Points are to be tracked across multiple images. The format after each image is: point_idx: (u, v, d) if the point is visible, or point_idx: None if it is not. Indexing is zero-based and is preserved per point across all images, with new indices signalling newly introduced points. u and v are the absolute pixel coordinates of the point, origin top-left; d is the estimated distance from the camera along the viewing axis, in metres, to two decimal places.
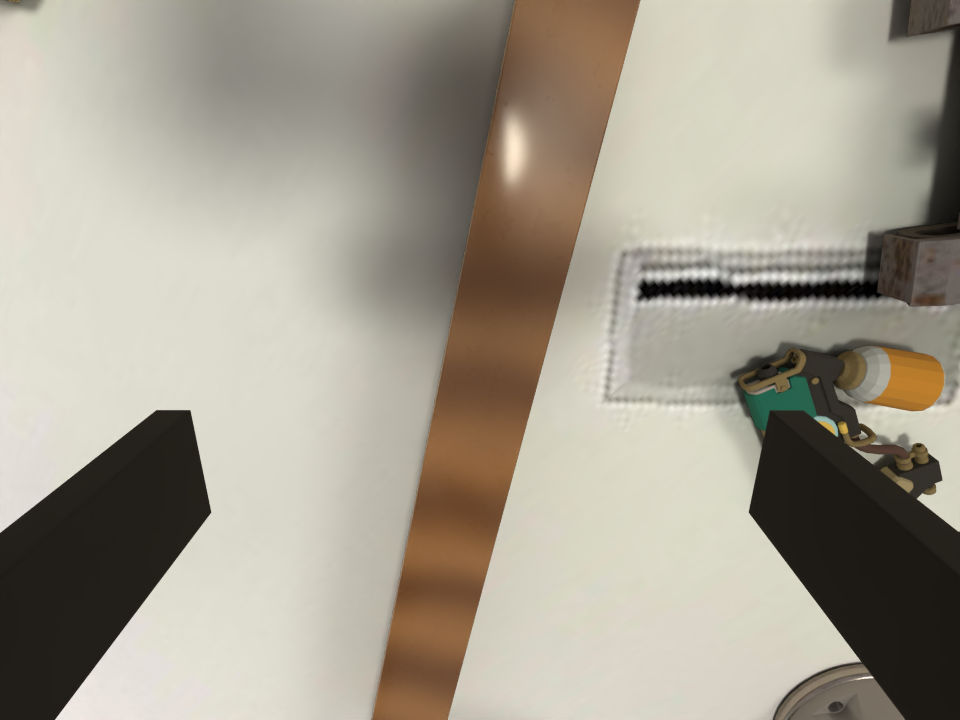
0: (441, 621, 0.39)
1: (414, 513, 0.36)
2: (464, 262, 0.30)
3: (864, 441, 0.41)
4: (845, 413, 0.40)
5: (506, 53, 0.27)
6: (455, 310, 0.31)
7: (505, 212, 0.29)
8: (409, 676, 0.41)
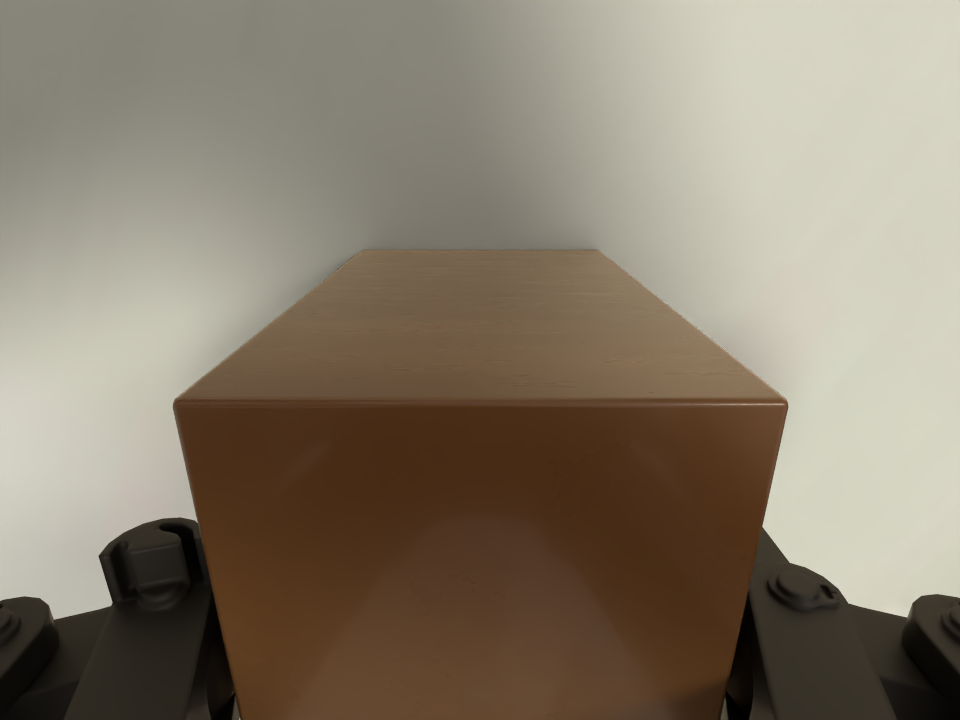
0: None
1: None
2: None
3: None
4: None
5: None
6: None
7: None
8: None
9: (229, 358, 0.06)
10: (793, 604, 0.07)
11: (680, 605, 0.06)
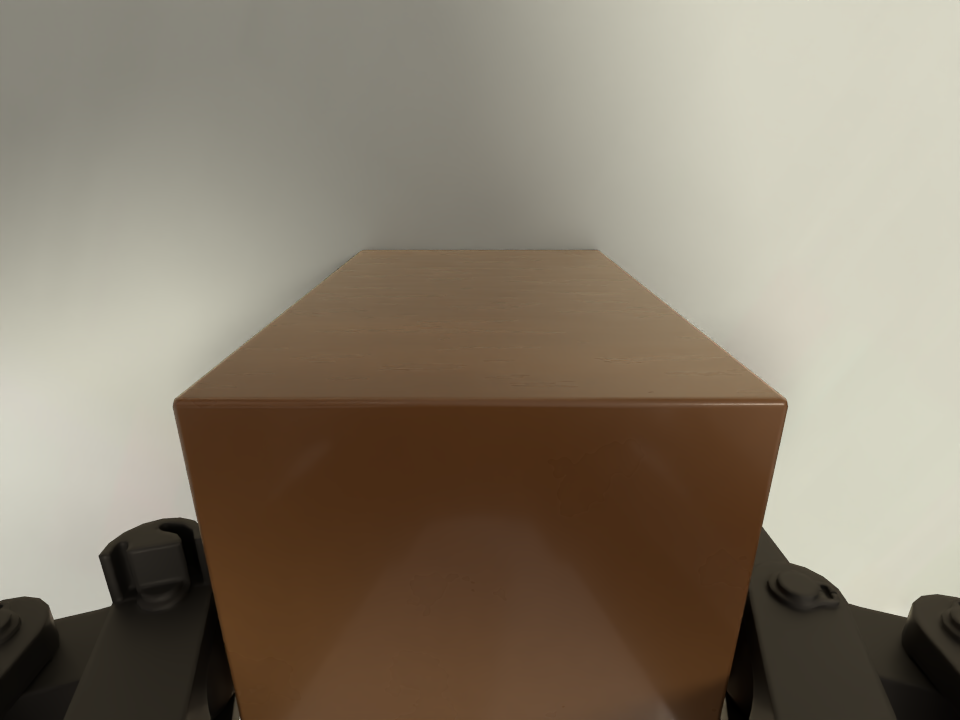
0: None
1: None
2: None
3: None
4: None
5: None
6: None
7: None
8: None
9: (229, 358, 0.06)
10: (792, 603, 0.07)
11: (680, 604, 0.06)
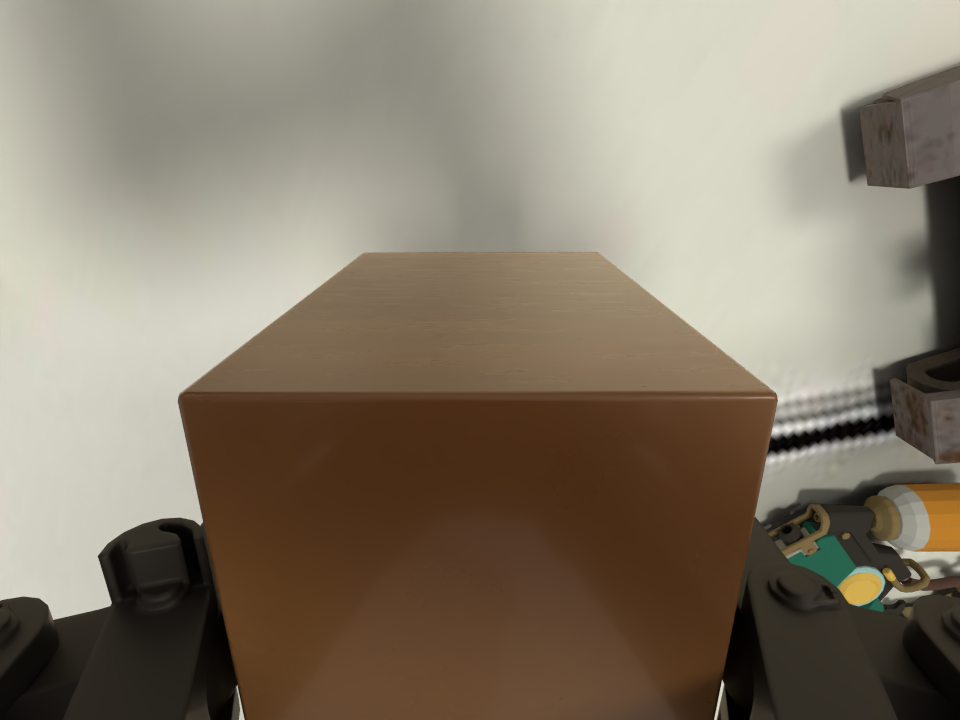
0: None
1: None
2: None
3: (917, 586, 0.36)
4: (888, 560, 0.36)
5: None
6: None
7: None
8: None
9: (233, 355, 0.06)
10: (793, 604, 0.07)
11: (675, 597, 0.06)
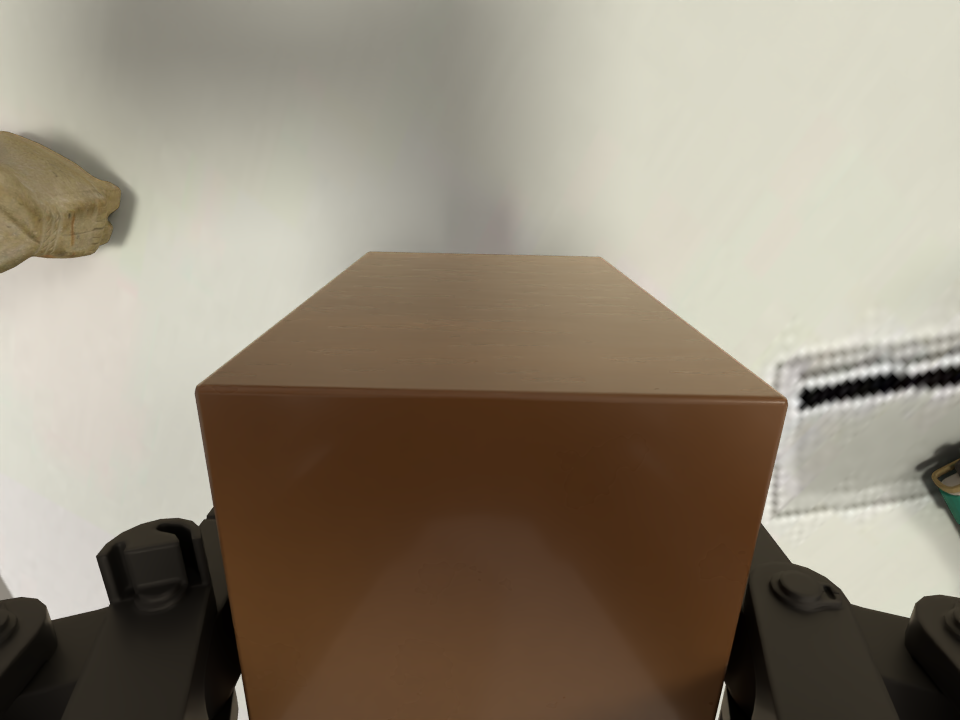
0: None
1: None
2: None
3: None
4: None
5: None
6: None
7: None
8: None
9: (247, 349, 0.06)
10: (794, 604, 0.07)
11: (681, 598, 0.06)
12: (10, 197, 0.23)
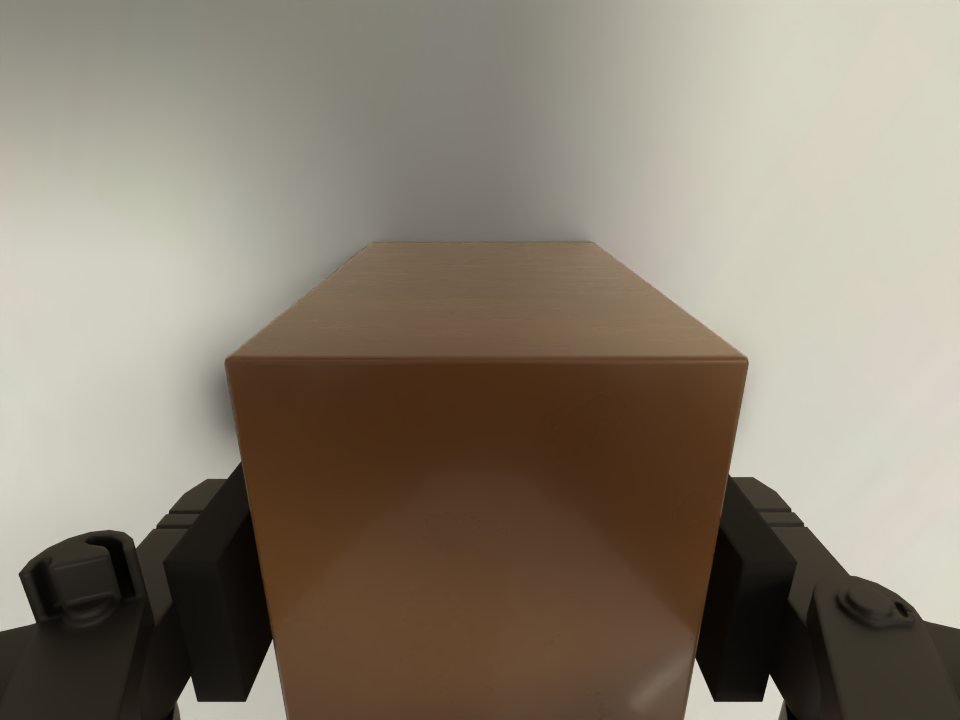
0: None
1: None
2: None
3: None
4: None
5: None
6: None
7: None
8: None
9: (266, 328, 0.07)
10: (864, 619, 0.07)
11: (660, 541, 0.07)
12: None
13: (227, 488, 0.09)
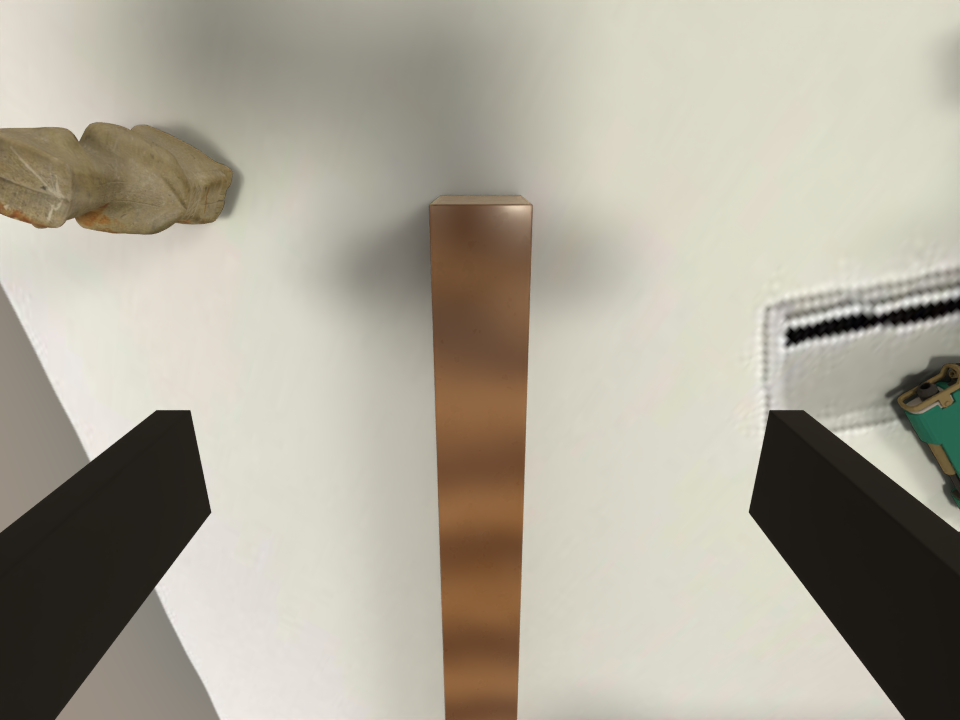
0: None
1: (444, 655, 0.42)
2: (438, 460, 0.36)
3: None
4: None
5: (433, 306, 0.32)
6: (439, 496, 0.37)
7: (462, 418, 0.35)
8: None
9: (432, 203, 0.32)
10: None
11: (518, 248, 0.31)
12: (172, 172, 0.31)
13: None
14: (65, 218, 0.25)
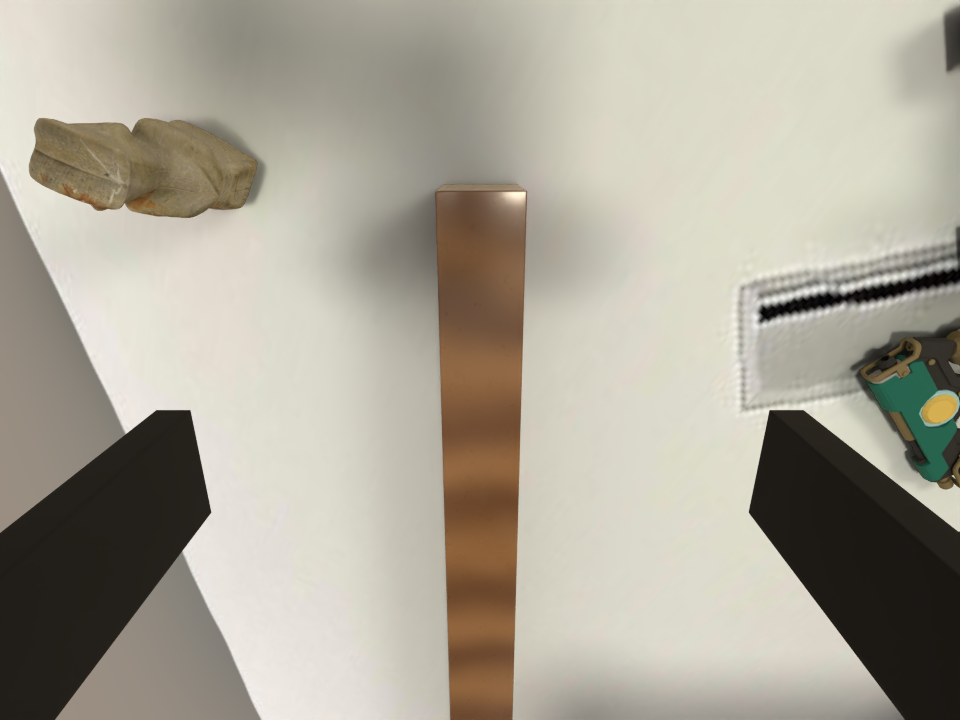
0: (488, 678, 0.49)
1: (447, 602, 0.46)
2: (442, 422, 0.40)
3: None
4: None
5: (438, 282, 0.37)
6: (443, 455, 0.41)
7: (464, 383, 0.39)
8: None
9: (438, 189, 0.36)
10: None
11: (514, 229, 0.35)
12: (208, 162, 0.35)
13: None
14: (124, 201, 0.29)
